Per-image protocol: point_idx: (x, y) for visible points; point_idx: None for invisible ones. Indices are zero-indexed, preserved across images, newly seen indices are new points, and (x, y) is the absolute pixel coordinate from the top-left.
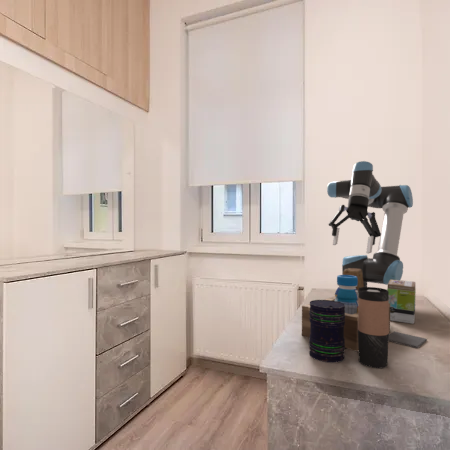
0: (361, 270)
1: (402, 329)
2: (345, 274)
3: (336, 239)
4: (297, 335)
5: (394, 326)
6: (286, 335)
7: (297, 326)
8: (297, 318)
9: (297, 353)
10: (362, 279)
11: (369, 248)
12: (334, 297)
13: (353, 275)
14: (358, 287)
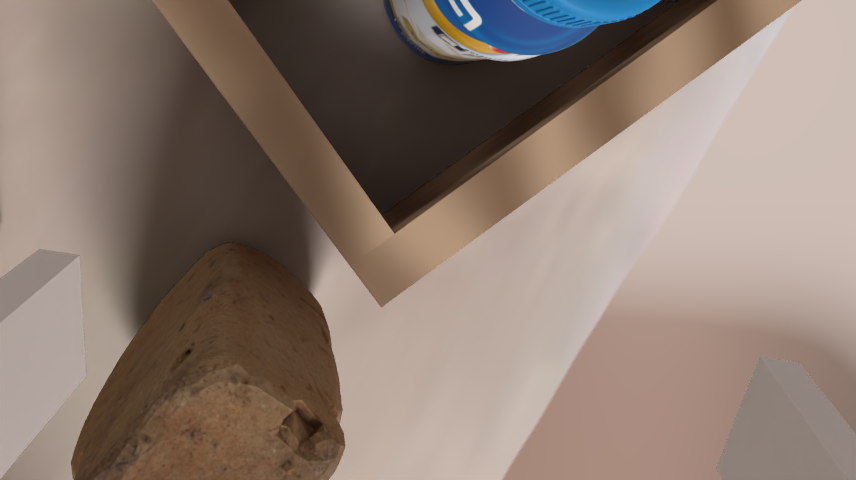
0: (103, 460)
1: (17, 8)
2: (329, 412)
3: (831, 417)
4: None
5: (35, 80)
6: None
7: (662, 157)
8: (597, 308)
9: None
10: (100, 428)
11: (37, 321)
12: (474, 216)
13: (265, 353)
14: (223, 291)
